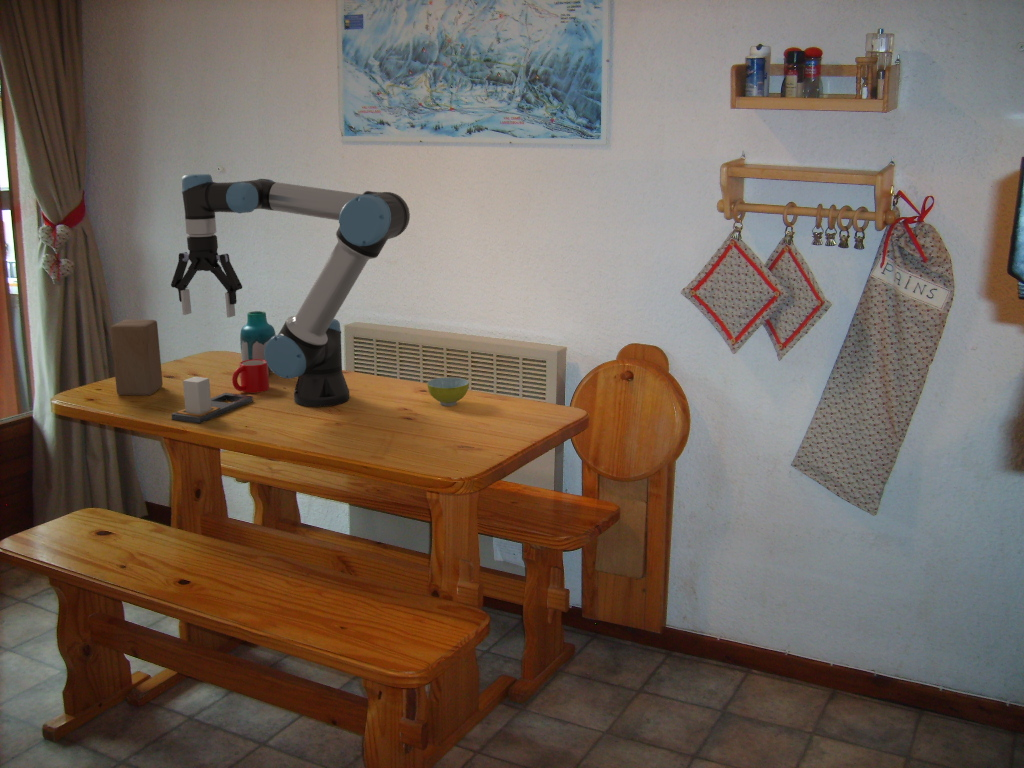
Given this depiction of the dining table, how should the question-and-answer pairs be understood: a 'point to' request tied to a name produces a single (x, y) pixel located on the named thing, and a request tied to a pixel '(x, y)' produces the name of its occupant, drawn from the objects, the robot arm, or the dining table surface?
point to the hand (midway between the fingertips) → (209, 315)
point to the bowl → (448, 390)
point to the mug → (252, 376)
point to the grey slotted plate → (214, 408)
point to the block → (136, 357)
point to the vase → (255, 336)
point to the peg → (197, 395)
